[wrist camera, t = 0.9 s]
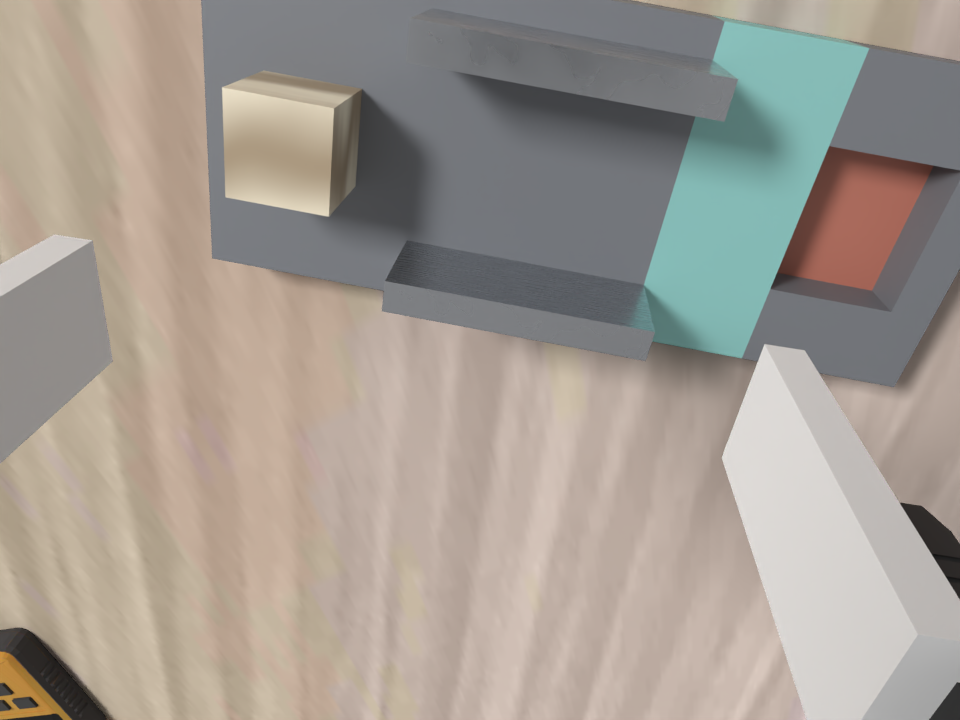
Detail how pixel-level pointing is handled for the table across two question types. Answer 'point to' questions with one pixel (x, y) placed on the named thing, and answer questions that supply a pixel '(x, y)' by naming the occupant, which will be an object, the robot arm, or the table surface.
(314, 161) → the brass block
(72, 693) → the electronic device
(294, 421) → the table surface
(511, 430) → the table surface
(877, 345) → the tunnel deck
